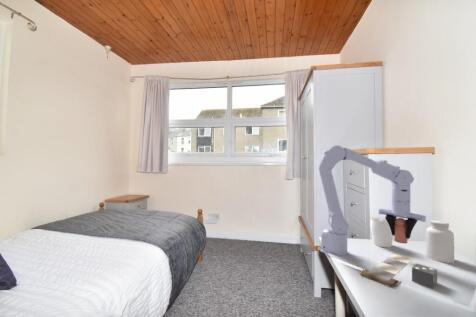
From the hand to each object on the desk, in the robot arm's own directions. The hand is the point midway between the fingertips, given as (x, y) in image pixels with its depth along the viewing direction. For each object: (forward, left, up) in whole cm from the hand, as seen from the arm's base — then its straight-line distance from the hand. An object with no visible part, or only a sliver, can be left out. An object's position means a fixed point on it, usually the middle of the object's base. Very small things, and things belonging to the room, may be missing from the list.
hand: (400, 236), depth 84 cm
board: (0, -10, -9) cm, 14 cm away
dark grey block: (+10, -14, -9) cm, 20 cm away
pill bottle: (+9, +13, -10) cm, 18 cm away
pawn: (0, 0, -2) cm, 2 cm away
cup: (-10, +11, -10) cm, 18 cm away
